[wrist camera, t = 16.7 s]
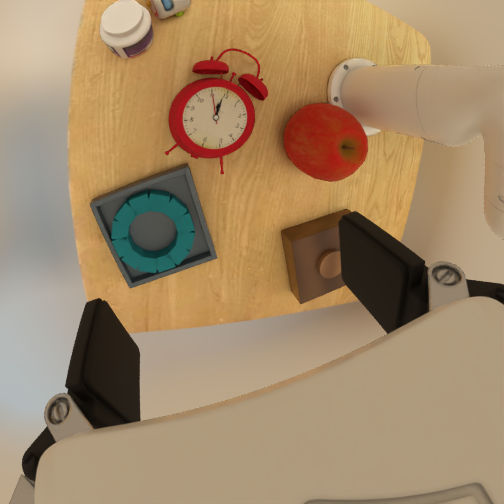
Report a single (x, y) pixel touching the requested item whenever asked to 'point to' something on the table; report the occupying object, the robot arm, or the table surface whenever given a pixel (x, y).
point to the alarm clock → (215, 111)
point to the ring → (147, 258)
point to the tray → (156, 223)
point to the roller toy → (168, 7)
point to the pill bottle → (126, 29)
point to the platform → (314, 257)
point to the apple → (325, 142)
